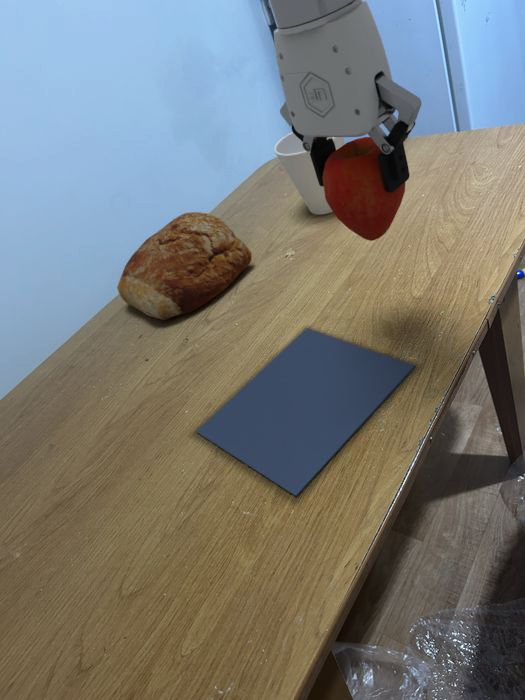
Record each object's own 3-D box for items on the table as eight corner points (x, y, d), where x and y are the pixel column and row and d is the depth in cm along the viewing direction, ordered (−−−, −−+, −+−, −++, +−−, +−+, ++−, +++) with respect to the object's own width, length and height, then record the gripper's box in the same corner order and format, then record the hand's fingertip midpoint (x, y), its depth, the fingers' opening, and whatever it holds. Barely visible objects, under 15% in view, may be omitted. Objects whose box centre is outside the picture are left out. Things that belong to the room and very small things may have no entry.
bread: (259, 265, 94) (237, 211, 88) (178, 335, 86) (147, 280, 80) (187, 248, 108) (163, 201, 102) (112, 307, 101) (81, 259, 95)
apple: (412, 252, 59) (389, 152, 53) (333, 263, 63) (303, 172, 56) (419, 209, 65) (400, 115, 59) (346, 222, 68) (321, 135, 62)
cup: (287, 226, 101) (263, 160, 93) (308, 191, 108) (287, 128, 101) (351, 218, 95) (331, 146, 87) (369, 182, 102) (351, 114, 95)
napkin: (415, 367, 64) (415, 365, 64) (296, 497, 56) (295, 495, 56) (307, 329, 76) (306, 328, 76) (197, 433, 68) (196, 431, 68)
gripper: (223, 29, 54) (282, 195, 65) (367, -1, 42) (412, 210, 52) (276, -2, 57) (325, 161, 68) (426, -38, 45) (457, 168, 55)
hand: (363, 182), depth 60 cm, fingers closed on apple, 8 cm apart
